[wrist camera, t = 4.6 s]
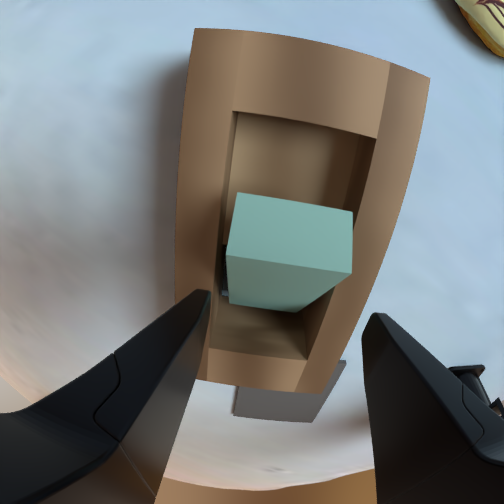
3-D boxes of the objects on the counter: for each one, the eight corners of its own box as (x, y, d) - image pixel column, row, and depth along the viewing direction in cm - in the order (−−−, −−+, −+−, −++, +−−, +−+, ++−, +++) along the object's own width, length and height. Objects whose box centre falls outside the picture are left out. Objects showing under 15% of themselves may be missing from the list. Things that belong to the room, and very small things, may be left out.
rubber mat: (345, 360, 24) (346, 364, 24) (311, 419, 30) (312, 422, 29) (245, 350, 24) (245, 354, 24) (233, 412, 30) (233, 415, 29)
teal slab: (352, 212, 11) (351, 273, 10) (299, 277, 20) (296, 312, 20) (237, 192, 11) (225, 254, 10) (235, 267, 20) (229, 303, 20)
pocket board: (387, 82, 14) (430, 78, 9) (315, 342, 23) (321, 393, 19) (217, 49, 14) (194, 28, 9) (193, 325, 23) (178, 375, 19)
